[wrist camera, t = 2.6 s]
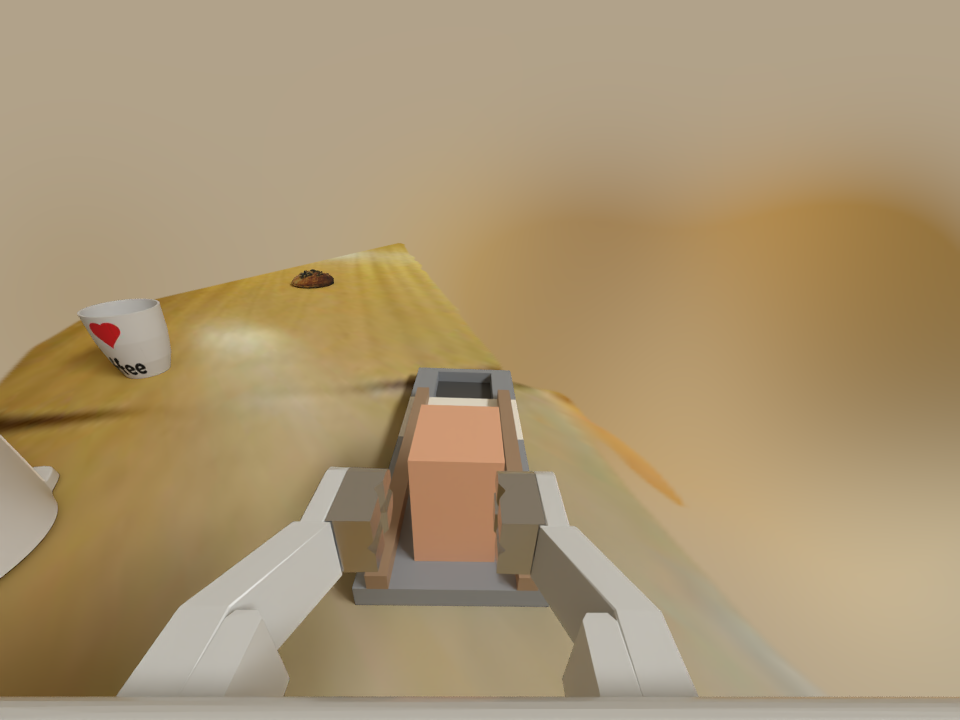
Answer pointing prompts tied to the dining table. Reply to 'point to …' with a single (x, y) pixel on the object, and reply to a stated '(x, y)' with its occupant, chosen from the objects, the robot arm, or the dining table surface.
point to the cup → (130, 335)
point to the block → (454, 482)
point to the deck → (398, 569)
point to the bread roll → (312, 279)
